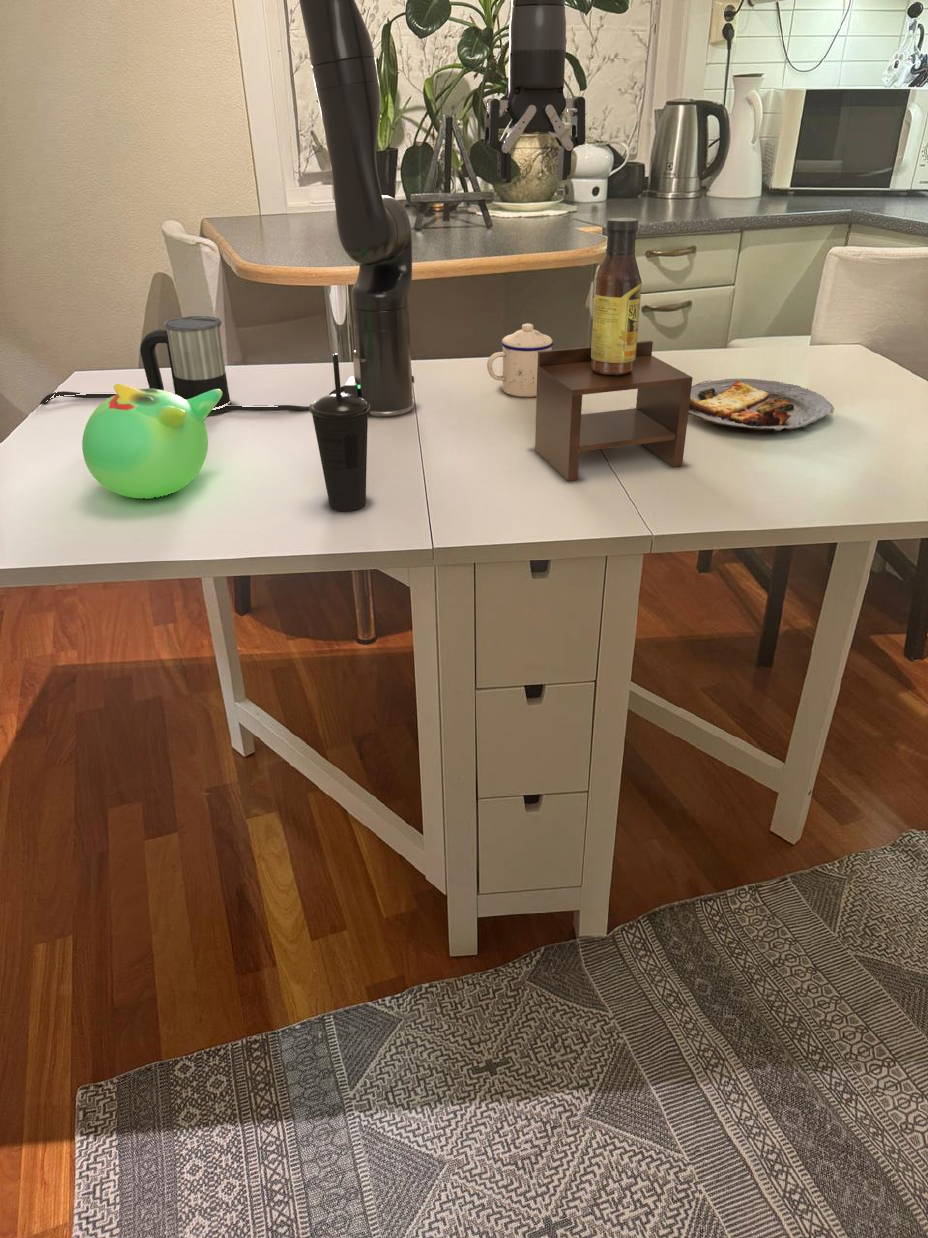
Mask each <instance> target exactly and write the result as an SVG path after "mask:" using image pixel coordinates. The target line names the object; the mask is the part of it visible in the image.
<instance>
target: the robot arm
mask: <svg viewBox="0 0 928 1238" xmlns="http://www.w3.org/2000/svg"><path fill="white" fill-rule="evenodd" d="M298 1H299V7H300V12H301V16H302V21H303V27H304V32H305V36H306V41H307V47H308V52H309V53H308V54H309V59H310V66H311V71H312V77H313V83H314V87H315V92H316V96H317V101H318V106H319V111H320V115H321V122H322V127H323V132H324V137H325V143H326V149H327V153H328V158H329V163H330V170H331V178H332V186H333V187H332V188H333V198H334V206H335V207H334V209H335V219H336V228H337V234H338V237H339V242H340V244H341V246H342V248H343V250H344V252H345V253H346V255H347V256H348V257H349V258H350V260H352V261H354V263H357V264H358V265H359V268H358V273H357V278H356V280H355V282H354V284H353V286H352V288H351V291H350V297H351V298H350V299H351V308H352V310H351V311H352V325H353V339H354V350H353V351H352V361H353V372H354V373H353V376H349V377H348V379H347V380H346V382H345V383H344V385H341V393H344V394H351V395H354V396H357V397H360V398H363V399H366V400H367V401H368V402H369V403H370V409H369V410H368V417H370V416H371V417H395V416H401V415H404V414H408V413H409V412H411V411H413V409H414V395H413V384H415V376H413V374H412V353H411V350H412V348H411V327H410V325H411V324H410V306H409V305H410V303H409V302H410V301H409V298H410V297H409V296H410V295H409V294H410V290H411V286H412V283H413V234H412V233H413V232H412V226H411V220H410V217H409V214H408V212H407V210H406V208H405V207H404V206H403V204H402V203H401V202H400V201H399V200H398V199H396V198H394V197H392V196H389V195H383V194H382V189H381V184H380V179H379V174H378V165H377V144H378V143H377V142H378V136H379V135H378V134H379V126H380V118H381V101H382V99H381V87H380V81H379V74H378V68H377V61H376V58H375V57H376V56H375V51H374V47H373V42H372V38H371V35H370V32H369V30H368V27H367V25H366V22H365V20H364V18H363V16H362V13H361V11H360V9H359V7H358V5H357V3H356V1H355V0H298ZM566 19H567V17H566V0H511V12H510V21H509V31H508V35H509V36H508V37H509V40H508V42H509V43H508V44H509V45H508V95H507V98H506V99H498V98H494V97H491V98H488V99H487V100H486V101H485V115H484V132H483V133H484V134H483V135H484V136H483V145H484V147H486V148H487V149H488V148H489V149H491V150H493V151H495V152H496V154H497V177H498V179H500V181H501V183H503V184H511V182H512V153H510V150H511V149H512V148H513V146H514V144H515V143H516V142H517V140H518V139H519V138H520V137H521V135H522V134H529V135H530V134H535V133H538V134H549V135H550V136H551V137H552V138H553V139H554V141H555V143H556V144H557V146H558V148H559V150H557V160H556V161H557V162H556V163H557V165H556V180H558V181H567V179H568V176H570V175H571V172H572V153H573V150H574V149H576V148H577V147H579V146H583V145H584V144H585V143H586V98H585V97H584V96H576V95H574V96H572V97H569V98H566V97H565V94H564V89H565V88H564V87H565V73H566V72H565V69H566V47H567V40H568V39H567V20H566ZM565 109H566V112H567V114H568V115H570V136H569V134H568V131H567V128H566V127H565V125H564V123H563V121H562V120H561V119H560V118H561V116H562V114H563V113H564V111H565ZM505 110H506V112H507V113H508V115H509V116H510V120H509V123H508V124H507V126H506V127H505V129H504V131H503V133H502V136H501V137H500V139H499V129H500V118H501V117H503V115H504V111H505ZM56 392H57V393H56ZM80 393H81V392H76V391H54V392H51V393H49V394H47V395H46V396H44V397H43V398H42V399H41V401H40V403H39V405H47V404H48V403H50V401H51V400H53V399H56V398H57V397H56V396H59V395H60V396H63V397H64V398H65V397H67V398H76V399H108V398H110V397H112V396H114V395H116V394H86V395H76V394H80ZM54 394H55V395H54ZM331 394H336V390H335V389H333V390H332V391H330V392H329V394H328V395H331ZM53 395H54V398H51V397H52V396H53ZM64 395H75V396H64ZM63 397H62V398H63ZM50 398H51V399H50ZM47 400H48V401H47ZM46 401H47V402H46ZM273 405H274V406H278V407H242V406H226V408H227V409H228V411H243V412H245V411H247V412H278V411H279V412H281V411H289V412H290V411H293V412H307V411H309V406H303V405H296V404H295V405H293V404H273ZM309 412H310V411H309Z"/></svg>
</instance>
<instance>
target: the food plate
mask: <svg viewBox="0 0 928 1238" xmlns="http://www.w3.org/2000/svg"><path fill="white" fill-rule="evenodd" d="M834 412H835V407H834V405H833V404H832V403H831V402H830V401H829V400H828V399H826V397H824V395H822V394H820V393H818V392H816V391H813V390H811V389H809V388H808V387H807V388H805V387H804V386H803V387H802V386H801V385H796V384H790V383H785V382H783V381H777V380H767V379H757V378H724V379H717V380H711V379H709V380H704V381H702V382H699V383H696V384H693V385H692V387H691V396H690V404H689V413H688V415H691V416H693V417H696V418H698V419H700V420H701V419H702V420H704V421H707V422H710V423H712V424H713V425H719V426H725V427H730V428H740V429H741V428H742V429H750V430H752V431H753V430H755V431H761V430H762V431H763V430H764V431H770V432H773V431H774V432H780V431H782V430H784V429H786V430H789V431H792V430H795V429H799V428H801V427H803V428H805V427H806V426H808V425H810V424H812V423H816V422H817V421H818V420H820V419H824V417H825V416H827V415H829V414H834Z"/></svg>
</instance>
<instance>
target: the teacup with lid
mask: <svg viewBox="0 0 928 1238" xmlns="http://www.w3.org/2000/svg"><path fill="white" fill-rule="evenodd" d="M553 345H554V342H553V339H552V337H550V336H549V335H547V334H544V333H541V332H540V331H538V330H537V329H534V325H533V324H532V323H523V324H522V326H521V329H518V330H516V331H515V332H514V333H511V334H508V335H505V336H504V337H503V338H502V340H501V346H502V351H497V352H494V353H492V354H491V355H490V356H489V358H487V362H486V368H487V372H488V374H489V376H490V377H491V378H492V379H493V380H495V381H499V382H502V386H501V387H502V388H501V389H502V391H503V392H504V393H505V394H508V395H509V396H513V397H518V398H534V397H537V371H538V370H537V365H538V351H546V350H553V349H552V347H553ZM498 358H502V375H496V374H495V372H494V370H493V363H494V361H495V360H496V359H498Z"/></svg>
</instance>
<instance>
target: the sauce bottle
mask: <svg viewBox="0 0 928 1238" xmlns="http://www.w3.org/2000/svg"><path fill="white" fill-rule="evenodd" d="M638 229H639V219H638V218H634V217H611V218H608V219H606V234H607V239H606V249H605V254H606V256H605V258H604V259H603V261H602V263H601V264H600V265H599V267H598V269H597V272H596V277H595V292H594V297H593V300H594V301H593V315H592V333H591V346H592V348H591V358H592V363H591V368H592V370H593V371H594V372H596V373H599V374H603V375H621V374H626V373H630V372H631V371H632V370H633V368H634V362H635V359H636V346H637V342H638V334H639V321H640V319H639V318H640V308H641V297H642V283H643V281H642V278H641V274H640V270H639V266H638V262H637V258H636V240H637V239H636V238H637V231H638Z"/></svg>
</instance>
